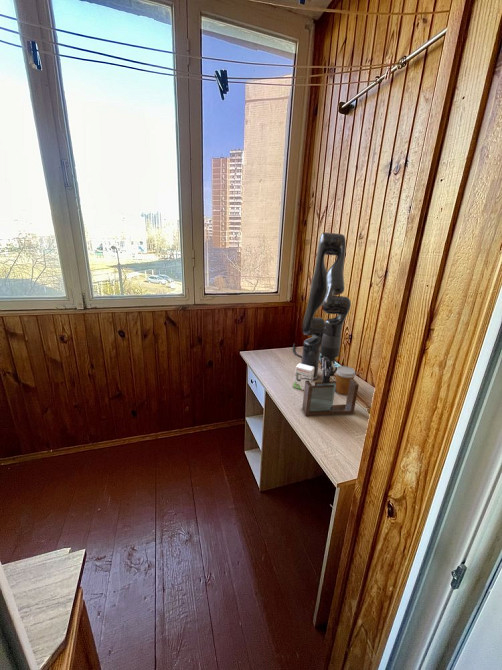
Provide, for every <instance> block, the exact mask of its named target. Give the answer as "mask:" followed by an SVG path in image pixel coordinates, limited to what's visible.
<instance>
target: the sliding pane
mask: <svg viewBox="0 0 502 670" xmlns="http://www.w3.org/2000/svg"><path fill="white" fill-rule="evenodd" d="M327 373H328V372H327ZM324 378H325V371H323V372H322V375H321V380H320V381H314V385H313V386H316V385H334V389H333V395H332V402H331V407H332V405H334V398H335V391H336V380H330V383H326V384H325V383H324Z"/></svg>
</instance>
